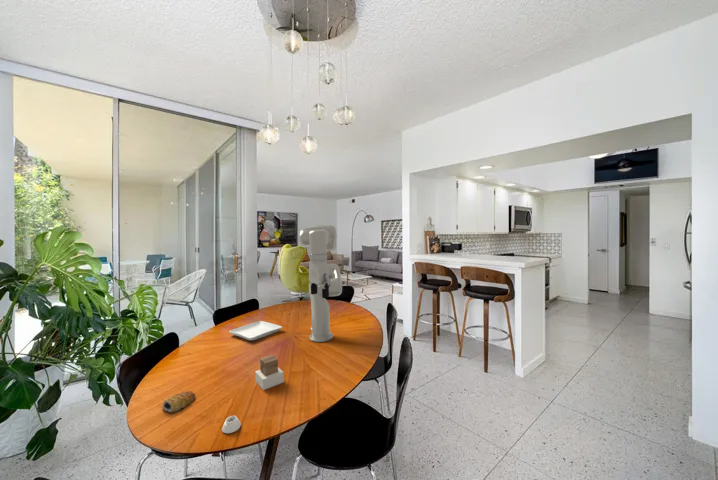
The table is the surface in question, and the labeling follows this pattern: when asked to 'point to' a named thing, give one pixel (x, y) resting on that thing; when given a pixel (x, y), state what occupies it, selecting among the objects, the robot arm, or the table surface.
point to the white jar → (231, 424)
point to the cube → (269, 365)
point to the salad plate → (255, 330)
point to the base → (269, 379)
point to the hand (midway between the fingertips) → (319, 295)
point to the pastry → (178, 401)
